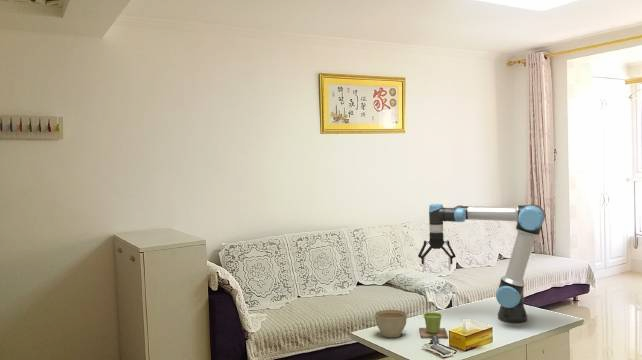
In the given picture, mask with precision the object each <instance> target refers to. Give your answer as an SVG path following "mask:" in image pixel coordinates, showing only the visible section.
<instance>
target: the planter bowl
mask: <svg viewBox="0 0 642 360" xmlns="http://www.w3.org/2000/svg"><path fill="white" fill-rule="evenodd" d="M374 317H375V324H376V326H377V328H378V330H379V332H381V336H383V337H385V338H399V337H401V335H402V333H403V331H404V329H405V327H406V324H407V321H408V320H407V318H408V313H407V312H406V311H403V310H400V309H383V310H382V309H381V310H378V311H376V312H375V313H374Z"/></svg>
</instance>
